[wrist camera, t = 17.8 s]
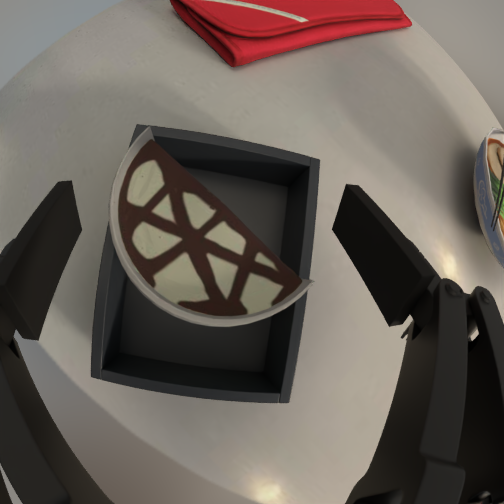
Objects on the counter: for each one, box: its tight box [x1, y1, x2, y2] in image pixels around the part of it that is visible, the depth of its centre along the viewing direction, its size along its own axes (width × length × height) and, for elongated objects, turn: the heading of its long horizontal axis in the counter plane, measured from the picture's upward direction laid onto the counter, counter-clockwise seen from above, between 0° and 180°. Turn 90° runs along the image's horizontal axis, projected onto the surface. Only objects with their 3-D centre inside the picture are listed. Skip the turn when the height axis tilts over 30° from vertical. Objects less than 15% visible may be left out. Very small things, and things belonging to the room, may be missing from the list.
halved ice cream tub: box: [109, 126, 314, 327], centre depth 17 cm, size 12×6×10 cm, turn 47°
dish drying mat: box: [170, 0, 412, 67], centre depth 28 cm, size 16×41×4 cm, turn 127°
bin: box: [91, 124, 320, 403], centre depth 20 cm, size 14×18×6 cm
